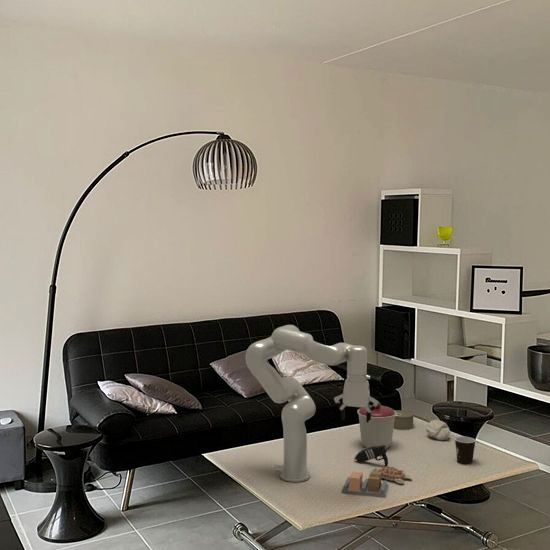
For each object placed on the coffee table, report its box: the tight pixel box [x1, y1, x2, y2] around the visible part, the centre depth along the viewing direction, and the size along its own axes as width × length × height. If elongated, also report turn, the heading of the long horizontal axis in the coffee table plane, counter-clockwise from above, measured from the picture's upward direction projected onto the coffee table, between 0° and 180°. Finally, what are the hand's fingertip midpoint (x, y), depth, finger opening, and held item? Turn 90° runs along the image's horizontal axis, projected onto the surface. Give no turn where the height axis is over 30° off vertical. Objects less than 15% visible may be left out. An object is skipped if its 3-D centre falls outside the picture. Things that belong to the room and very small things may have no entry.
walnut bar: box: [367, 470, 382, 492], centre depth 279 cm, size 8×4×5 cm, turn 164°
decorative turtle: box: [372, 465, 413, 485], centre depth 292 cm, size 18×17×5 cm
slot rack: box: [340, 476, 390, 498], centre depth 280 cm, size 17×11×3 cm, turn 74°
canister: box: [356, 401, 397, 449], centre depth 331 cm, size 18×18×21 cm
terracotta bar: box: [348, 470, 364, 491], centre depth 279 cm, size 8×4×5 cm, turn 164°
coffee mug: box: [454, 436, 476, 466], centre depth 311 cm, size 12×9×10 cm
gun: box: [353, 445, 389, 467], centre depth 308 cm, size 3×16×10 cm, turn 60°
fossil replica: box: [425, 419, 451, 441], centre depth 343 cm, size 12×8×10 cm
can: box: [393, 409, 415, 431], centre depth 362 cm, size 12×12×7 cm
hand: (355, 420), depth 279 cm, fingers open, 9 cm apart
